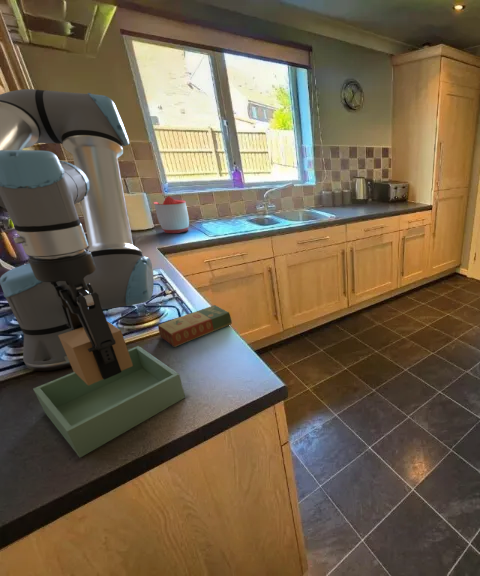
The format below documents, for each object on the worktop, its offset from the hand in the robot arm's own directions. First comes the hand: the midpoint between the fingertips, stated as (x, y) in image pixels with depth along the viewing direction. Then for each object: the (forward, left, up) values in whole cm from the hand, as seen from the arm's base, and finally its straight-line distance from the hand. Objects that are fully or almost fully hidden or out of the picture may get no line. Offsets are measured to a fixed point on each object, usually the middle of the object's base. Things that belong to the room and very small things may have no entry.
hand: (103, 367), depth 62 cm
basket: (0, 0, -9) cm, 9 cm away
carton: (-15, +25, -10) cm, 31 cm away
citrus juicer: (-131, +78, -10) cm, 153 cm away
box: (0, 0, 0) cm, 0 cm away
